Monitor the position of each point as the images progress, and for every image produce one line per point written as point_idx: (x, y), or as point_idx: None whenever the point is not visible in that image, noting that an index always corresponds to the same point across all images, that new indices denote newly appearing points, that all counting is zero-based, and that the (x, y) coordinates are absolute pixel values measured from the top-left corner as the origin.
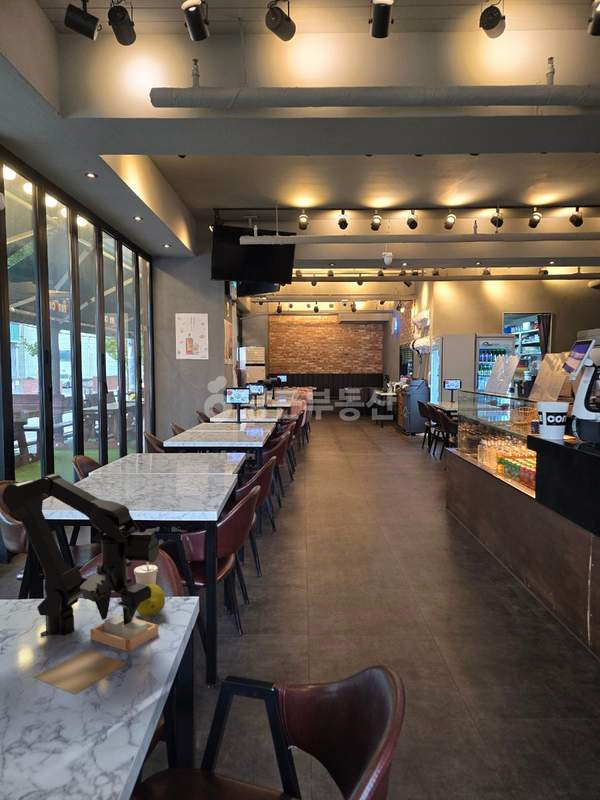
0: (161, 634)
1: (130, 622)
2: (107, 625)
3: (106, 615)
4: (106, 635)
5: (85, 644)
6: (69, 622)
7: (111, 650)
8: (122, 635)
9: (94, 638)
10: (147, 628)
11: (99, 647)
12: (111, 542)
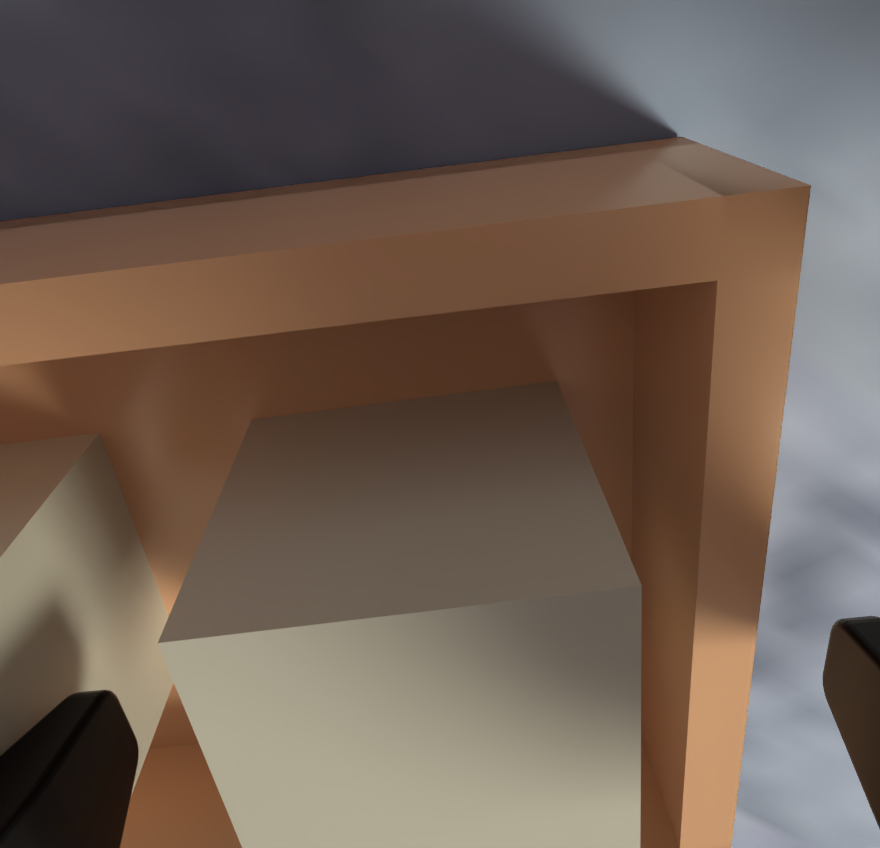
0: None
1: None
2: (505, 532)
3: (858, 748)
4: (141, 263)
5: (738, 33)
6: None
7: (94, 203)
8: (27, 512)
9: (593, 168)
10: None
11: (384, 135)
12: None
